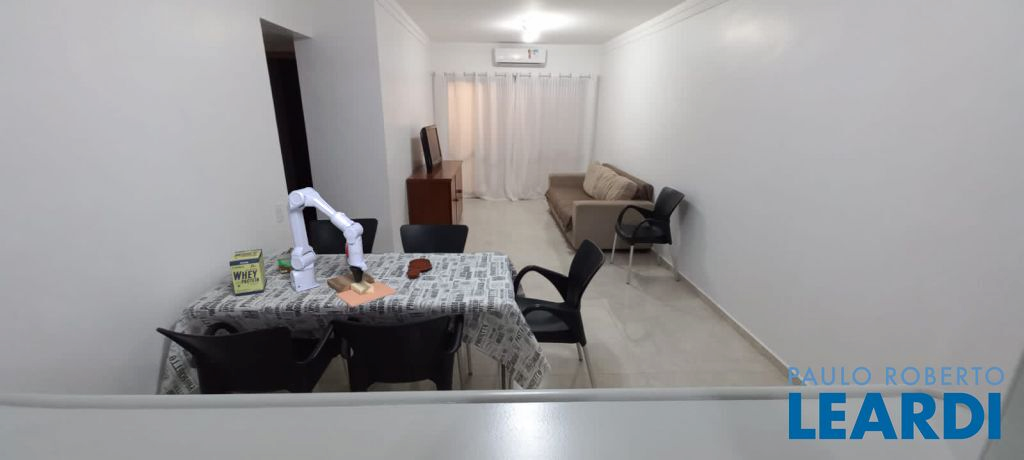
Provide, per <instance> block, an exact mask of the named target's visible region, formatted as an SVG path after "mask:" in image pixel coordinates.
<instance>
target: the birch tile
mask: <svg viewBox="0 0 1024 460" xmlns="http://www.w3.org/2000/svg"><path fill="white" fill-rule="evenodd" d="M351 290H353V291H354V292H356V293H357V294H359V295H360V296H361V295H364V294H368V293H371V292H374V286H372V285H371V284H369V283H367V282H366V281H361V282H358V283H357V282H356V283H353V284H351Z"/></svg>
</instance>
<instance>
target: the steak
mask: <svg viewBox="0 0 1024 460" xmlns="http://www.w3.org/2000/svg"><path fill="white" fill-rule="evenodd" d="M408 264H409V265H407V269H408V270H407V271H406V275H407V277H409V279H410V280H416V279H417V278H418V276H419V275H420V274H421V273H422V271H423V272H425V270H428V269H431V268H432V266H433V264H432V263H431V260H430V259H428V258H424V257H423V258H420V257H419V258H414V259H411V260H409V262H408Z"/></svg>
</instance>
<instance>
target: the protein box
mask: <svg viewBox="0 0 1024 460" xmlns="http://www.w3.org/2000/svg"><path fill="white" fill-rule="evenodd" d="M228 263H229V266H230V274H231V279H232V284H233V289H234V294H235V298H236V297H243V296H249V295H257V294H262V293H265V289H266V287H267V286H266V285H267V281H268V279H267V273H266V267H265V262H264V254H263V249H262V248H259V249H250V250H241V251H235V252H234V253H233V255H232V257H231V259H230V260H229V262H228Z"/></svg>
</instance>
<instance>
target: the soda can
mask: <svg viewBox="0 0 1024 460" xmlns="http://www.w3.org/2000/svg"><path fill="white" fill-rule="evenodd" d="M344 245H345V246H344V249H345V257H346V259H345V260H346V264H348V265H349V263H348V261H347V258H349V252H348V243H347V240H346V243H345V244H344Z"/></svg>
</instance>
